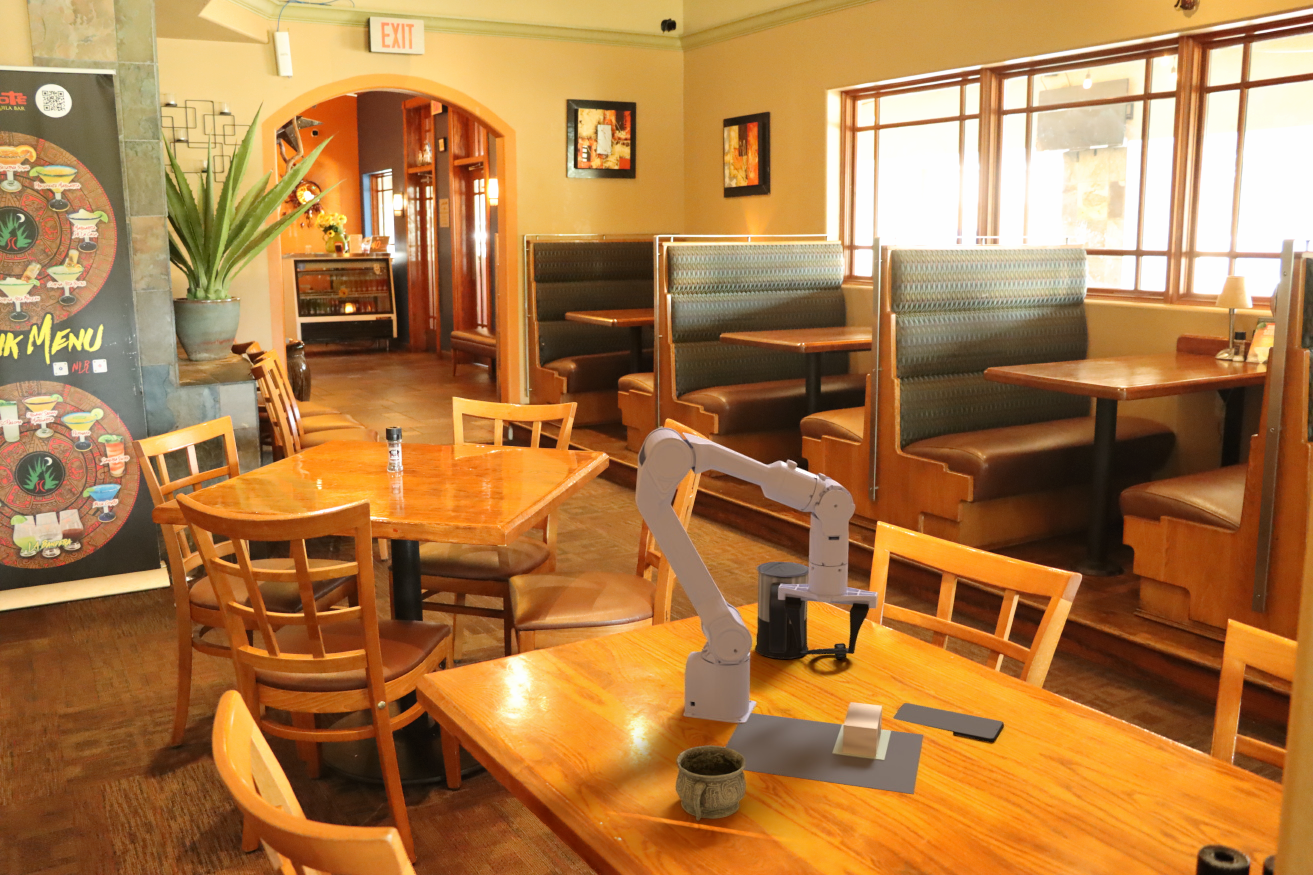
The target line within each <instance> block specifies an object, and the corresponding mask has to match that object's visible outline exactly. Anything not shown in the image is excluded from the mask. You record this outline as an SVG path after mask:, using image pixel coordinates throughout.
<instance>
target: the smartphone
mask: <svg viewBox="0 0 1313 875" xmlns="http://www.w3.org/2000/svg"><path fill="white" fill-rule="evenodd" d="M893 719H894V720H898V721H902V722H907V723H910V724H916V725H920V726H925V727H929V728H932V729H933V728H934V729H938V730H941V731H942V730H943V731H948V732H951V733H952V735H954V736H959V737H963V738H968V739H973V740H975V741H982V742H985V743H986V742H987V743H990V744H991V743H995V742H996V740H997V739H998V737H999V736H1000V733H1001V732H1002V730H1003V728H1004V725H1005V724H1004V722H1003V721H1002V720H997V719H992V718H988V717H987V718H986V717H982V716H976V715H971V714H967V713H966V714H965V713H961V712H956V711H950V710H945V709H940V708H934V707H929V706H925V705H918V704H914V703H910V702H905V703H903V704H901V706H900V707H899V708H898V710H896V713H895V714H894V715H893Z"/></svg>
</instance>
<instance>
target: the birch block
mask: <svg viewBox="0 0 1313 875" xmlns="http://www.w3.org/2000/svg"><path fill="white" fill-rule="evenodd" d="M882 715H883V705H878V704H872V703H871V704H869V703H861V702H854V701H853V702H852V701H851V702H849V705H848V708H847V712H846V716H845V719H844V722H843V753H850V754H858V755H866V756H874V757H876V754H877V750H878V745H879V740H880V735H881V729H882Z"/></svg>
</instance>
